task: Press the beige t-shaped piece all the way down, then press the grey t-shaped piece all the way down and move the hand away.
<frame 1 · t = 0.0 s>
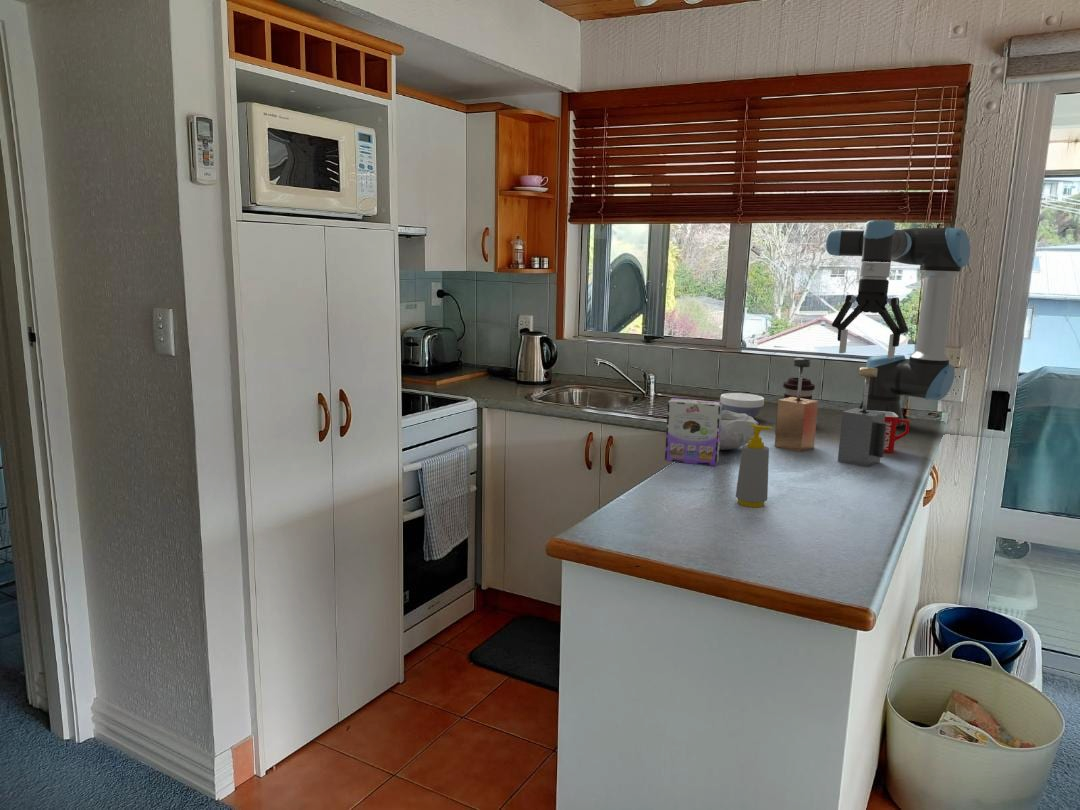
hand: (866, 355, 223), 28 cm above the worktop, fingers open, 13 cm apart
soap bottle: (751, 504, 179), on the worktop
candy box: (691, 462, 215), on the worktop
tall wooden block: (794, 446, 234), on the worktop
mug: (884, 450, 234), on the worktop
grey t-shaped piece: (799, 388, 231), point 17 cm above the worktop, slide at 7.0 cm
grey block: (858, 461, 219), on the worktop
bowl 2: (720, 449, 230), on the worktop
bowl: (740, 419, 273), on the worktop
coffee cup: (795, 423, 268), on the worktop
beige t-shaped piece: (865, 399, 216), point 17 cm above the worktop, slide at 7.0 cm
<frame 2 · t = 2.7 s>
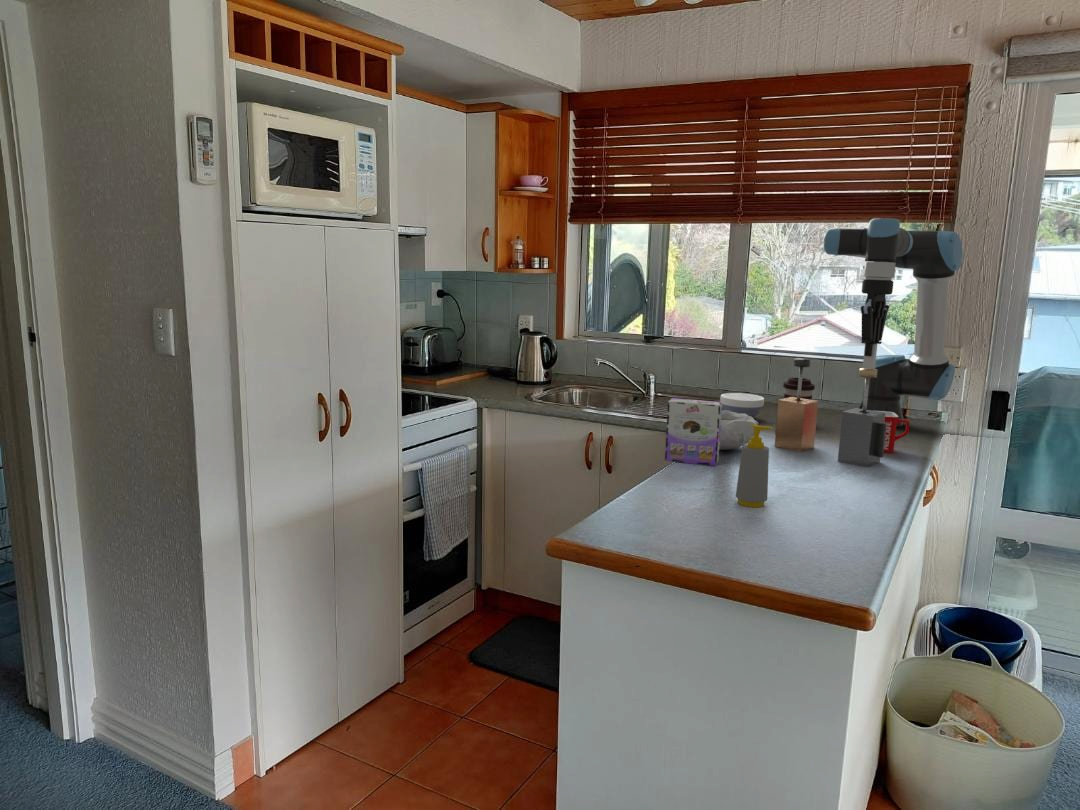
hand: (868, 368, 214), 26 cm above the worktop, fingers closed
beige t-shaped piece: (865, 400, 216), point 17 cm above the worktop, slide at 6.8 cm, touching gripper
everything else where it was.
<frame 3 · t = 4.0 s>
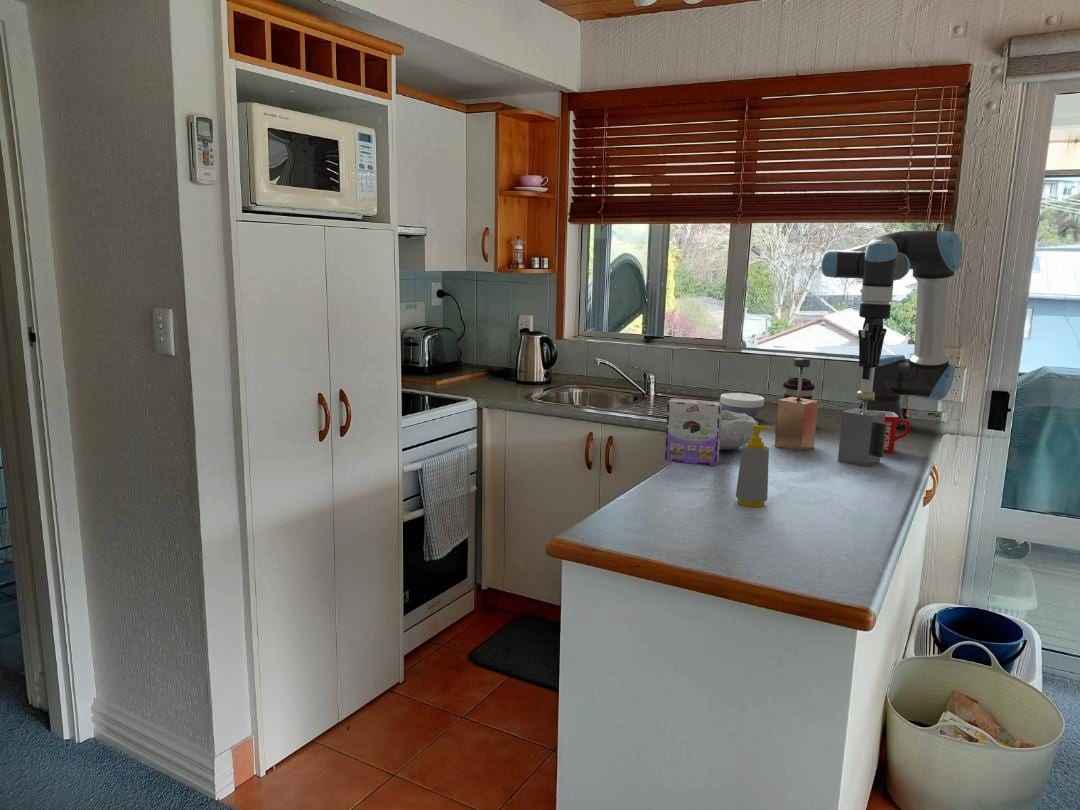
hand: (866, 391, 216), 20 cm above the worktop, fingers closed
beige t-shaped piece: (862, 423, 217), point 11 cm above the worktop, slide at 0.5 cm, touching gripper
everything else where it was.
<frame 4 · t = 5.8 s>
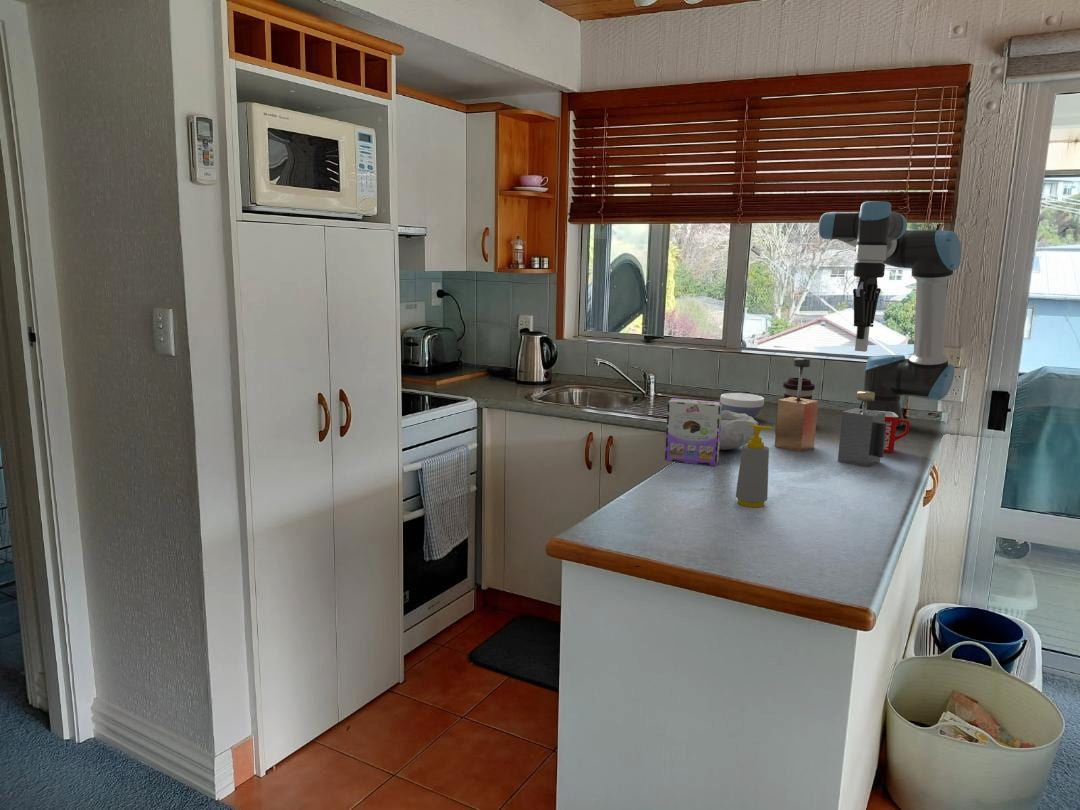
hand: (860, 350, 216), 30 cm above the worktop, fingers closed
beige t-shaped piece: (862, 423, 217), point 11 cm above the worktop, slide at 0.4 cm
everything else where it was.
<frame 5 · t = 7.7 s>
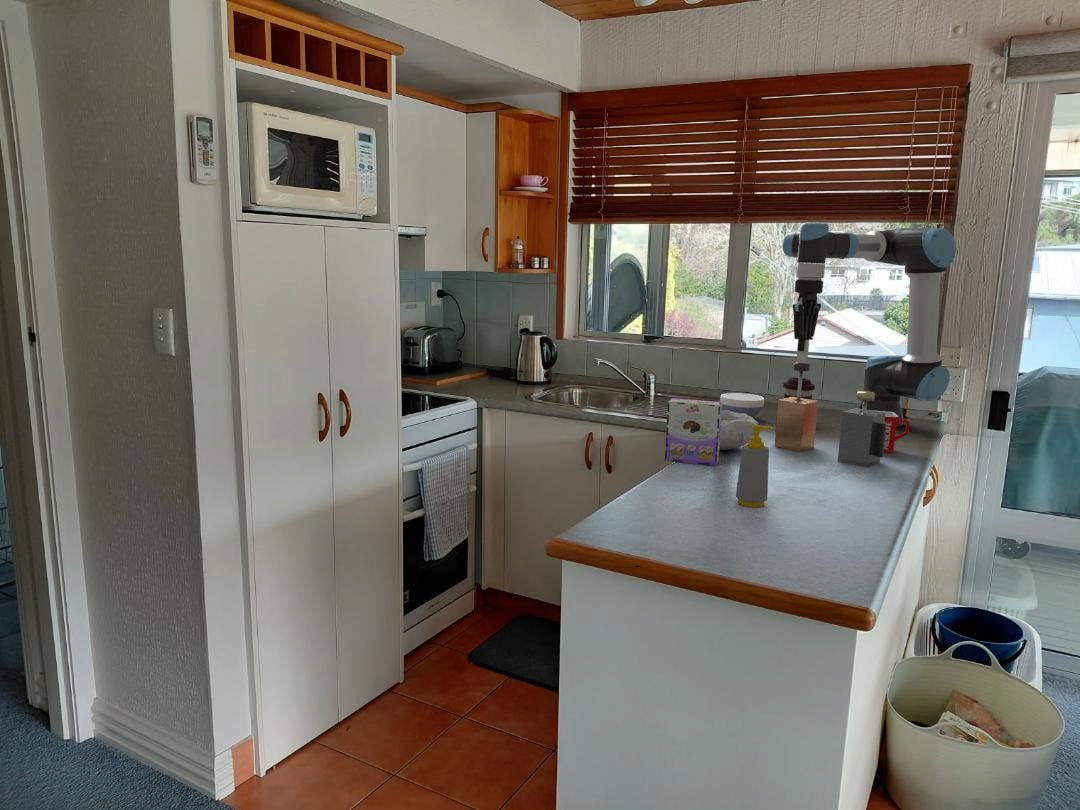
hand: (801, 362, 230), 25 cm above the worktop, fingers closed
grey t-shaped piece: (799, 392, 231), point 16 cm above the worktop, slide at 5.8 cm, touching gripper
everything else where it was.
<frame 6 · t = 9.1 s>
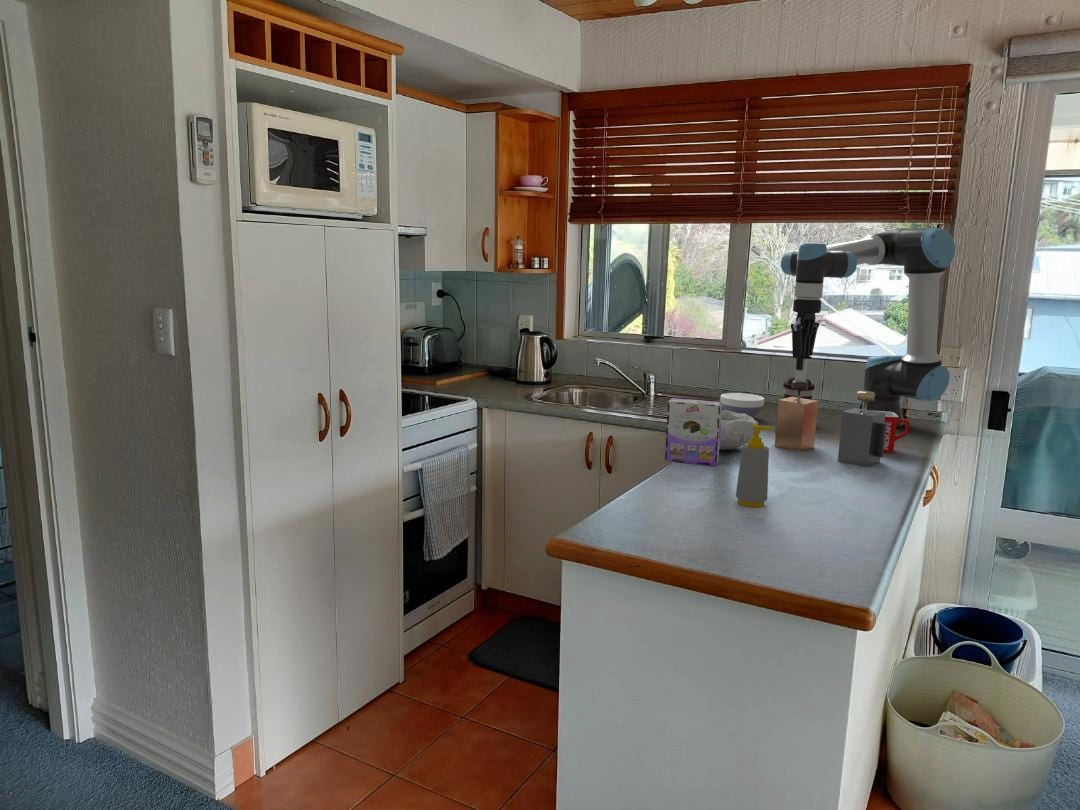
hand: (800, 381, 231), 19 cm above the worktop, fingers closed
grey t-shaped piece: (797, 411, 232), point 11 cm above the worktop, slide at 0.4 cm, touching gripper
everything else where it was.
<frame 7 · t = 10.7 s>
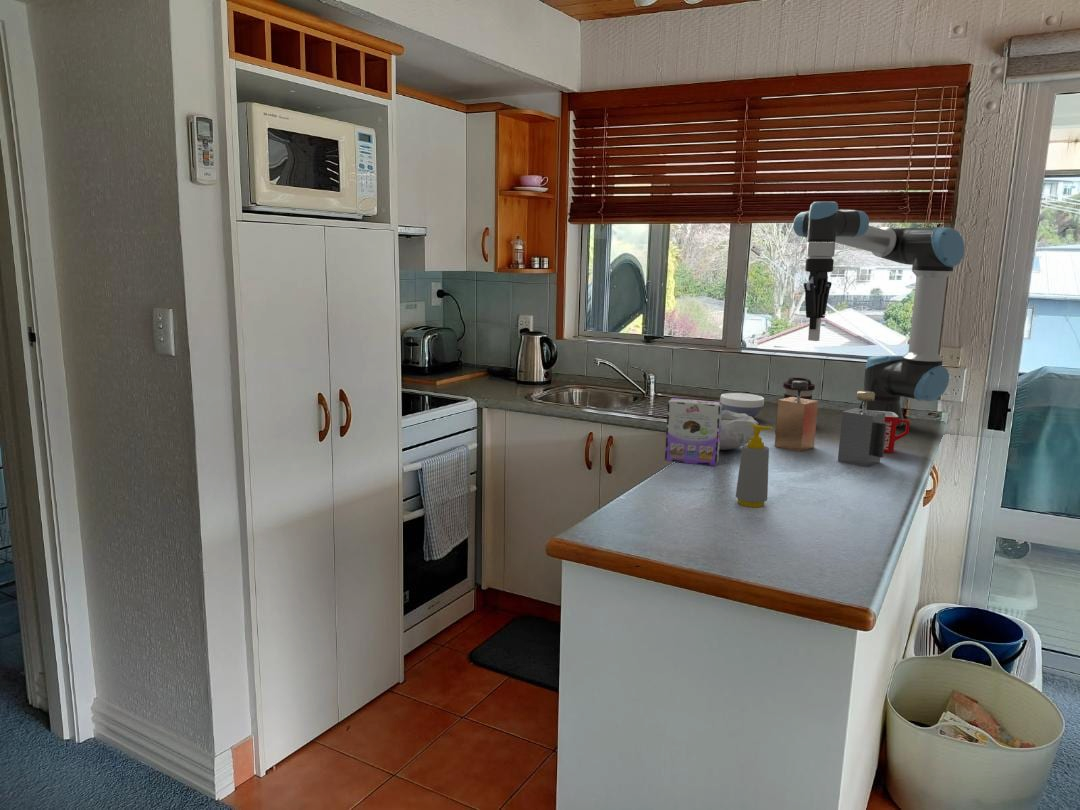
hand: (813, 340, 233), 31 cm above the worktop, fingers closed
grey t-shaped piece: (797, 411, 232), point 11 cm above the worktop, slide at 0.4 cm
everything else where it was.
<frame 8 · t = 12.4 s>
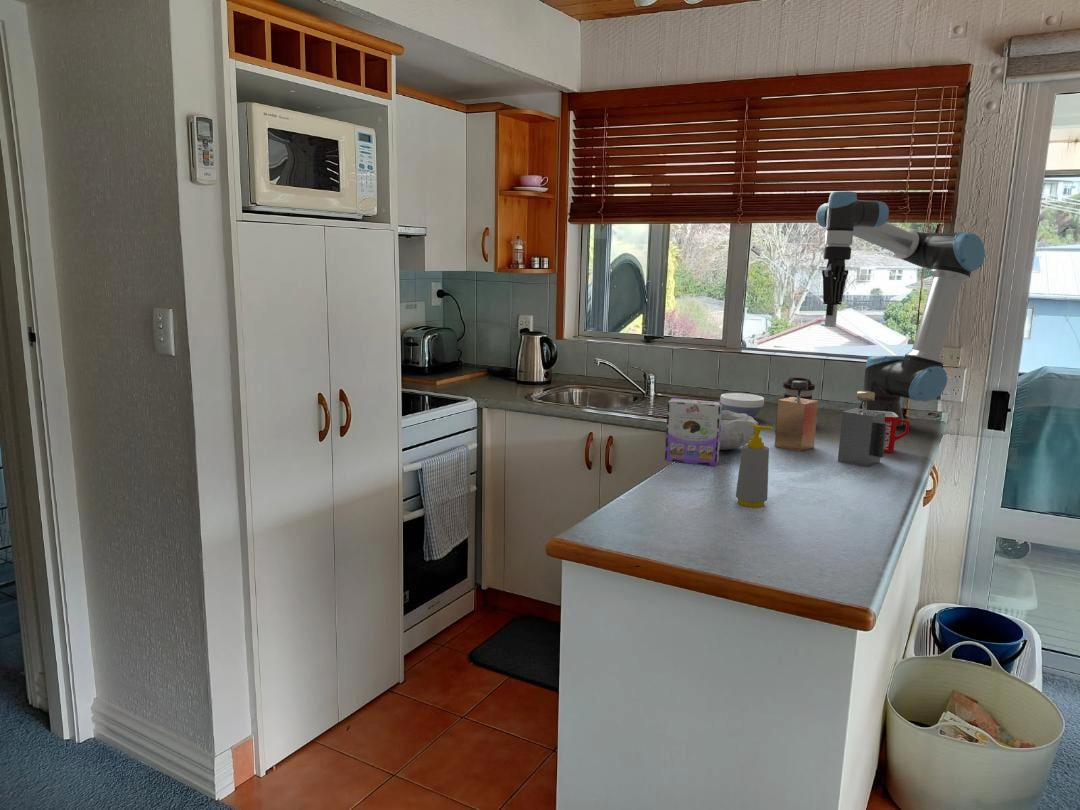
hand: (830, 326, 239), 34 cm above the worktop, fingers closed
nothing on the worktop moved.
at the end: beige t-shaped piece slide at 0.4 cm; grey t-shaped piece slide at 0.4 cm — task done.
